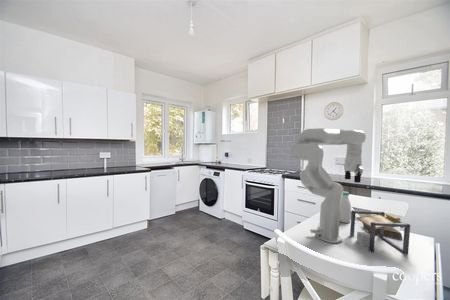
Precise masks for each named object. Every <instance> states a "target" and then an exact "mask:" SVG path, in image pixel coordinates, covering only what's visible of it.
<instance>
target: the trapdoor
mask: <svg viewBox="0 0 450 300" xmlns="http://www.w3.org/2000/svg"><path fill="white" fill-rule="evenodd" d="M356 220H358V221H359V222H361V223H362V224H363V223H364V224H365V225H367V226H369V227H371V222H384V223H403V222H402V221H401V217H399V216H398V215H395V214H392V213H391V212H390V213H385V217H384V216H382V215H377V214H373V215H366V216H359V217H358V216H356ZM391 227H392V228H395V227H394V226H376V228H375V229H382V228H391Z"/></svg>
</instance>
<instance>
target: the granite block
mask: <svg viewBox="0 0 450 300" xmlns="http://www.w3.org/2000/svg"><path fill="white" fill-rule="evenodd" d="M356 242H358V243H359V242H360V243H361V244H362V246H363V245H369V242H370V233H369V232H368V231H366V232H365V231H357V233H356ZM360 243H359V244H360ZM361 244H360V245H361Z"/></svg>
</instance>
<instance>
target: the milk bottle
mask: <svg viewBox="0 0 450 300" xmlns="http://www.w3.org/2000/svg"><path fill="white" fill-rule="evenodd" d="M349 196H350V193H349V191H346V190H345V191H344V190H343V195H342V199H341V205H340V220H339V223H344V224H349V223H351V211H352V204H351V201H350V198H349Z"/></svg>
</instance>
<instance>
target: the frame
mask: <svg viewBox="0 0 450 300" xmlns="http://www.w3.org/2000/svg"><path fill="white" fill-rule="evenodd" d="M356 214H357V215H358V214H359V215H382V216H384V217H385V216H386V213H385V212H384V211H371V210H370V211H369V210H352V209H351V215H350V227H349V228H350V231H349V236H350V235H351V236H350V237H355V227H356V225H355V224H356ZM376 226H394V227H393V228H398V227H400V228H401V229H404V231H403V241H402V242H403V244H402V247H401V246H399V245H398V244H396V243H394V242H393V241H391V240H390V239H388V237H386V236H383V233H384V228H382V229H379V235H378V238H380V239H381V240H383V241H384V242H386V243H388V244H389V245H390V246H392V247H393V248H395V249H397V250H398V251H400V252H401V253H402V254H404V255H409V246H410V233H411V224H409V223H403V222H402V223H384V222H371V227H370V233H369V234H370V242H369V246H368V251H369V252H370V251H371V252H370V253H374V252H375V239H376V234H375V228H376Z"/></svg>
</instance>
